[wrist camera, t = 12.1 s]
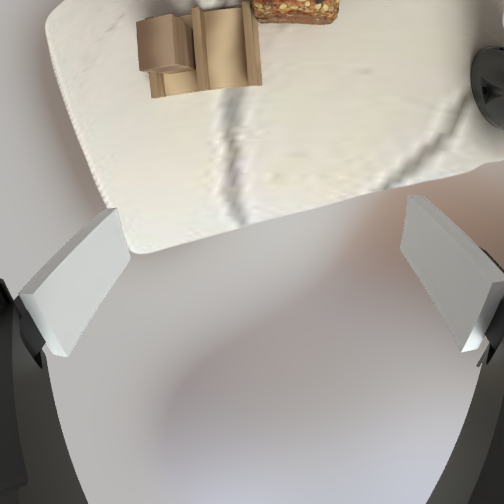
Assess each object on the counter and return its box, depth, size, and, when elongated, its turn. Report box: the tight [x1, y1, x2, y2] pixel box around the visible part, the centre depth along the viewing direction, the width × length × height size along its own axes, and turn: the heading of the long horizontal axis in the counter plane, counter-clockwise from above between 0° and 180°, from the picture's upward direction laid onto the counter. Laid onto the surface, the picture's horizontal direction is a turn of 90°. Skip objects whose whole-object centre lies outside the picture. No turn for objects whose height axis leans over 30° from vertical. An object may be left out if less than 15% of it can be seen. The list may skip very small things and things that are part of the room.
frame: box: [136, 13, 196, 74], centre depth 29 cm, size 4×6×11 cm
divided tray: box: [145, 1, 262, 98], centre depth 33 cm, size 15×12×4 cm
